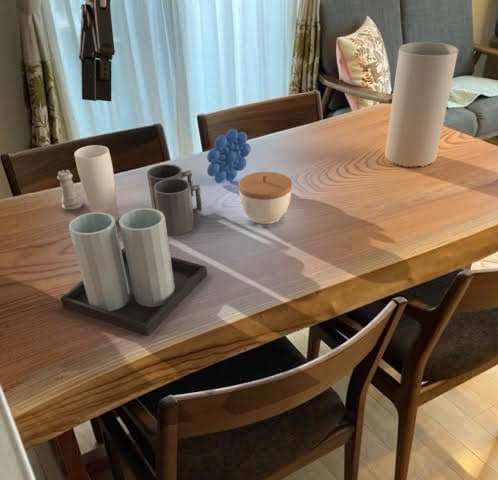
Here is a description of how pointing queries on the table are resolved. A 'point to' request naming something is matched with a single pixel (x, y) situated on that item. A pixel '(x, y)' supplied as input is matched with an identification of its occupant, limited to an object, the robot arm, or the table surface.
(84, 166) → the drinking glass
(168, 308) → the tray
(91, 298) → the tumbler
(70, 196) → the rook chess piece
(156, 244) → the tumbler
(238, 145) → the grapes
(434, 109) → the cylinder vase
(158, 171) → the grey mug far
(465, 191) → the table surface
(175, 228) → the grey mug near
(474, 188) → the table surface
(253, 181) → the trinket box
